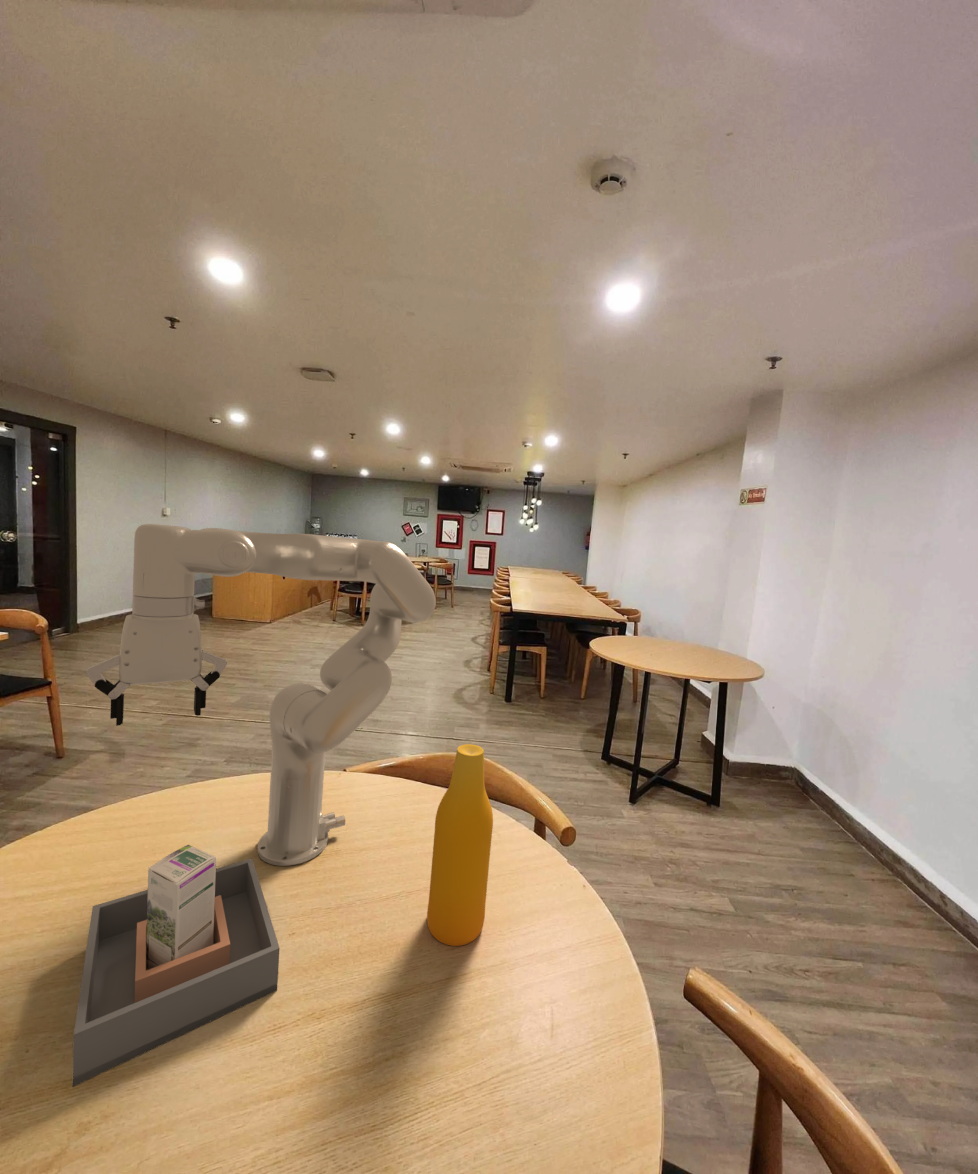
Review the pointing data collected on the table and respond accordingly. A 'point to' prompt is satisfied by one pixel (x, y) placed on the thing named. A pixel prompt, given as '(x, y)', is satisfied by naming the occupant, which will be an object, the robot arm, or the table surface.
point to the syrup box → (180, 905)
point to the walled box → (169, 974)
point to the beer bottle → (461, 853)
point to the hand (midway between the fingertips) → (160, 717)
